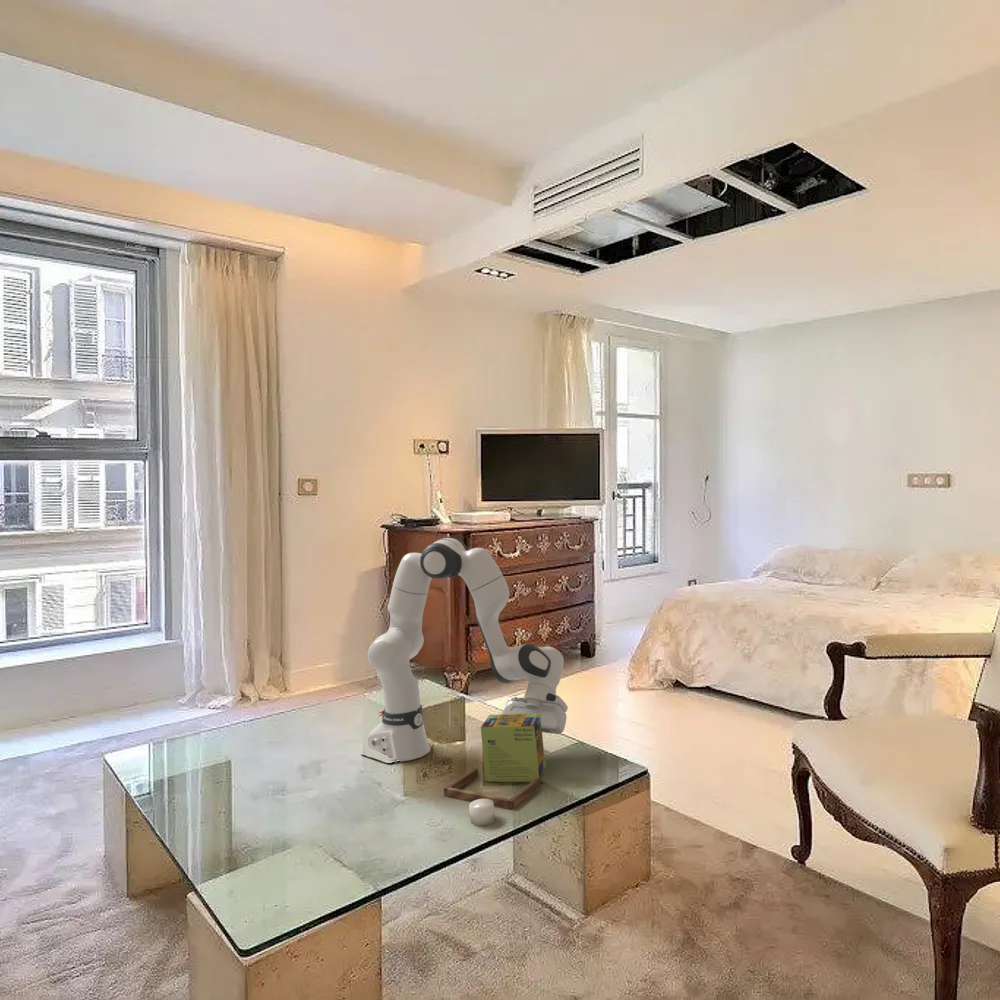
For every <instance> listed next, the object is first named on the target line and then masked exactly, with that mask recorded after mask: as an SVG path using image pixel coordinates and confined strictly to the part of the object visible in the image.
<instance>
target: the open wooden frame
mask: <svg viewBox="0 0 1000 1000" xmlns="http://www.w3.org/2000/svg"><path fill="white" fill-rule="evenodd" d="M478 777H479V769H478V767H477V768H472V769H471V770H470V771H468V772H466V773H465V774H463V775H461V776H460V777H459V778H457V779H456V780H455V781H453V782H451V783H450V784H448V785H447V786H445V787H444V788H443V795H444V797H448V798H453V799H459V800H464V801H468V802H472V801H474V800H477V799H490V800H492V801H493V803H494V807H497V808H503V809H508V810H514V809H515V808H516V807H517V806H519V805H520V804H521V803H522V802H524V800H526V799H527V798H528V797H530V794H531V793H532V792H533V793H535V790H536V789H537V790H538V789H539V788H541V779H535V780H533V781H532V782H528V784H527V785H526V786H524V787H523V788H522V789H520V790H519V791H518V792H517V793H515V794H514V795H513V796H512V797H510V798H508V797H502V796H498V795H492V794H486V793H482V792H481V793H480V792H476V791H472V790H471V791H469V790H465V789H461V788H463V787H465V786H466V785H467V784H469V783H470V782H471V781H473V780H474V779H476V778H478ZM537 790H536V791H537ZM533 793H532V794H533ZM532 794H531V795H532ZM527 796H528V797H527Z"/></svg>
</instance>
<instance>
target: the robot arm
mask: <svg viewBox="0 0 1000 1000" xmlns="http://www.w3.org/2000/svg"><path fill="white" fill-rule="evenodd" d="M458 576H459V577H461V578H462V579H463V581H464V582H465V584H466V586H467V588H468V590H469V592H470V595H471V597H472V599H473V602H474V607H475V612H474V613H475V618H476V622H477V625H478V628H479V631H480V634H481V637H482V638H483V642H484V645H485V647H486V650H487V652H488V656H489V661H490V668H491V672H492V674H493V675H494V677H495V679H496V680H498V682H500V683H502V684H503V683H504V684H511V683H514V682H517V681H519V680H524V679H525V680H526V681H527V686H526V689H525V693H524V696H523V697H517V696H513V697H511V698H509V699H508V700H507V701H506V704H505V706H504V708H503V710H502V713H501V714H534V713H540V716H541V727H542V733H544V734H555V735H561V734H562V733H564V730H565V727H566V723H567V713H566V712H568V708H569V706H568V705H567V703H566V702H565V701H564V700H563V699H562V698H561V697H560V696H559V695H557V687H558V685H559V684H560V682H561V680H562V679H561V678H562V676H563V675H562V674H563V670H564V664H565V661H564V656H563V654H562V652H560V651H559V650H558V649H556V648H555V647H552V646H537V645H535V644H533V643H525V644H521V645H516V646H515V647H510V646H508V645H507V642H506V640H505V637H504V635H503V632H502V629H501V626H500V622H499V618H500V617H499V616H500V614H501V612H502V611H503V609H504V608H505V607H506V605H507V603H508V601H509V597H510V589H509V586H508V583H507V581H506V579H505V576H504V575H503V573H502V571H501V569H500V567H499V566H498V564H497V563H496V561H495V559H494V558H493V556H492V555H491V554H490V553H489V551H488V550H487V549H485V548H482V547H474V548H470V549H468V548H467V546H466V544H465V543H464V541H463V540H461V539H460V538H458V537H455V536H446V537H444V538H440V539H438V540H436V541H434V542H433V543H431V544H429V545H427V546H426V547H425V548H424V549H423V551H422V553H421V552H408V553H406V554H405V555H404V556H403V557H402V558H401V560H400V563H399V564H398V566H397V569H396V572H395V575H394V579H393V583H392V587H391V591H390V592H391V593H390V595H389V601H388V604H387V610H388V613H389V627H388V630H387V631H386V632H384V633H382V634H380V635H379V636H377V637H376V638H375V639H374V640H373V642H371V644H370V646H369V648H367V649H368V650H367V660H368V662H369V664H370V666H371V667H372V668H373V669H374V670H376V672H377V675H378V678H379V680H380V684H381V687H382V693H383V695H382V696H383V701H384V703H383V704H384V709H383V710H382V711H379V715H378V716H379V717H382V719H381V722H379V724H377V725H376V726H375V727H374V728H372V730H371V731H370V732H369V734H368V736H367V746H368V748H371V749H373V750H376V751H378V752H380V753H382V754H384V755H387V757H389V758H390V759H383V760H385V761H397V760H399V761H400V762H406V761H407V762H408V761H412V760H416V759H419V758H422V757H424V756H425V755H428V753H430V752H431V747H430V745H429V744H430V743H429V740H428V739H427V738H428V737H427V733H426V729H425V724H424V712H423V705H422V703H421V696H420V687H419V681H418V679H417V678H416V677H415V676H414V673H413V672H412V669H411V665H410V660H411V659H413V658H415V656H417V655H418V653H419V652H420V651H421V650H422V648H423V645H424V641H425V640H424V639H425V638H424V634H423V619H424V618H423V617H424V616H423V615H424V611H425V607H426V602H427V598H428V595H429V594H428V593H429V590H430V584H431V581H432V579H437V580H440V579H441V580H443V579H447V578H455V577H458ZM384 758H385V757H384Z"/></svg>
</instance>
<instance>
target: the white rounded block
mask: <svg viewBox="0 0 1000 1000" xmlns="http://www.w3.org/2000/svg"><path fill="white" fill-rule="evenodd" d="M468 809H469V818H470V819H469V820H470V824H472V825H474V826H477V827H478V826H479V827H482V825H484V826H488V825H491V824H492V823H493V822H495V820H496V818H495V817H496V814H495V806H494V803H493V801H492V800H490V799H477V800H474V801H470V803H469V804H468ZM487 824H488V825H487Z"/></svg>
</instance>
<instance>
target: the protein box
mask: <svg viewBox="0 0 1000 1000" xmlns="http://www.w3.org/2000/svg"><path fill="white" fill-rule="evenodd" d="M480 735H481V736H480V737H481V744H482V756H483V766H484V768H483V769H484V776H485V777H484V779H485V782H488V783H489V782H490V783H491V782H493V783H494V782H495V783H497V782H499V783H500V782H504V783H506V782H510V783H512V782H513V783H514V782H515V783H520V782H521V783H526V782H527V783H531V782H532V781H533V780H535V779H540V780H541V778H542V776H543V774H544V772H545V769H546V759H545V758H546V757H545V749H544V747H545V746H544V740H543V732H542V727H541V716H540V713H534V714H502V713H500V714H489V715H488V716H487V717H486V720H485V721H484V722H483V723H482V724H481V726H480Z"/></svg>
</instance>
